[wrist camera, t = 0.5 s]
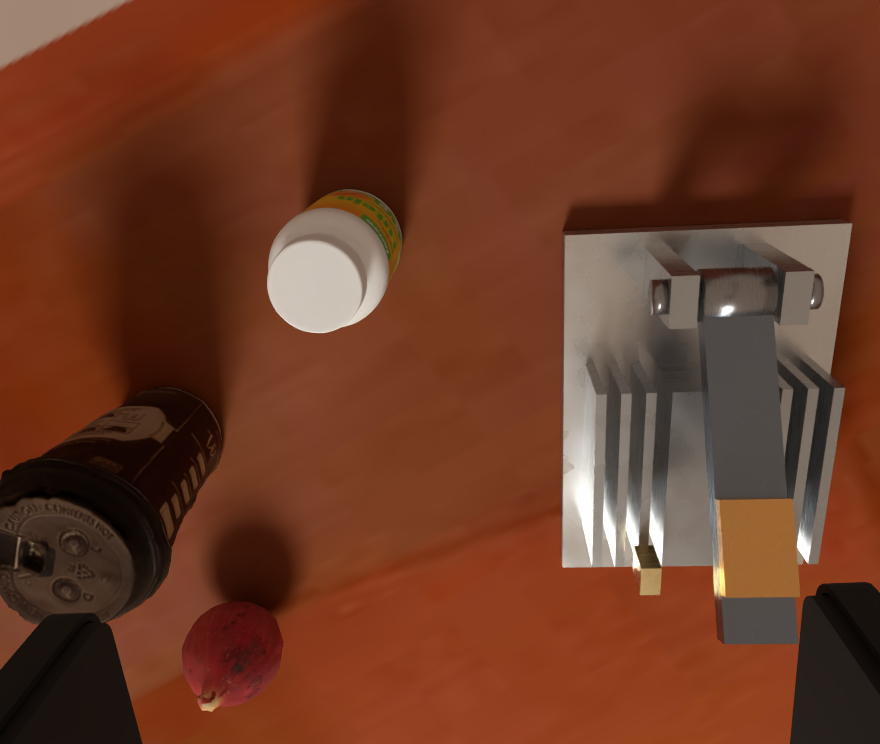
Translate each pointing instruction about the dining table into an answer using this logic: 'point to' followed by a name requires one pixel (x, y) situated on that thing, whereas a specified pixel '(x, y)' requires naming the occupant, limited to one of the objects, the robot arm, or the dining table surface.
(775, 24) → the dining table surface
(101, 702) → the robot arm
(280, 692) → the dining table surface
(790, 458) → the heatsink base
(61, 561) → the coffee cup
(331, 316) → the supplement bottle
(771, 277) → the strap
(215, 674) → the onion
